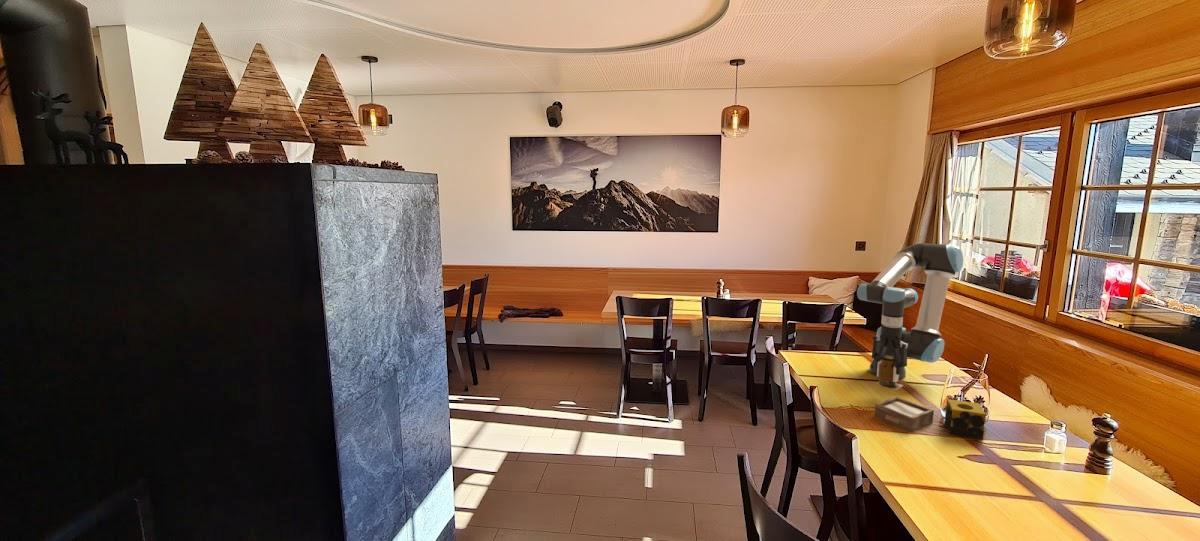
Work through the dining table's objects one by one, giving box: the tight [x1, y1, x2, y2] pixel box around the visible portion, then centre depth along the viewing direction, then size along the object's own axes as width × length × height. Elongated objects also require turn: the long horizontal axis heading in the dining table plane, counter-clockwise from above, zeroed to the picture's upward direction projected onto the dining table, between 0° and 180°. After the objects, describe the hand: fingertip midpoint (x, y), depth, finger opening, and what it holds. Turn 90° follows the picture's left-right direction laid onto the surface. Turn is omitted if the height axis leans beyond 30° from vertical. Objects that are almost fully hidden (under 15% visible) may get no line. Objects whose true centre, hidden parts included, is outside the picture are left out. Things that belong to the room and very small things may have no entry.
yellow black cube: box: [944, 398, 987, 440], centre depth 179 cm, size 10×10×10 cm
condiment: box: [874, 355, 904, 390], centre depth 203 cm, size 7×8×12 cm
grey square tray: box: [873, 396, 935, 433], centre depth 188 cm, size 14×14×5 cm
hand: (887, 378), depth 205 cm, fingers closed on condiment, 6 cm apart
